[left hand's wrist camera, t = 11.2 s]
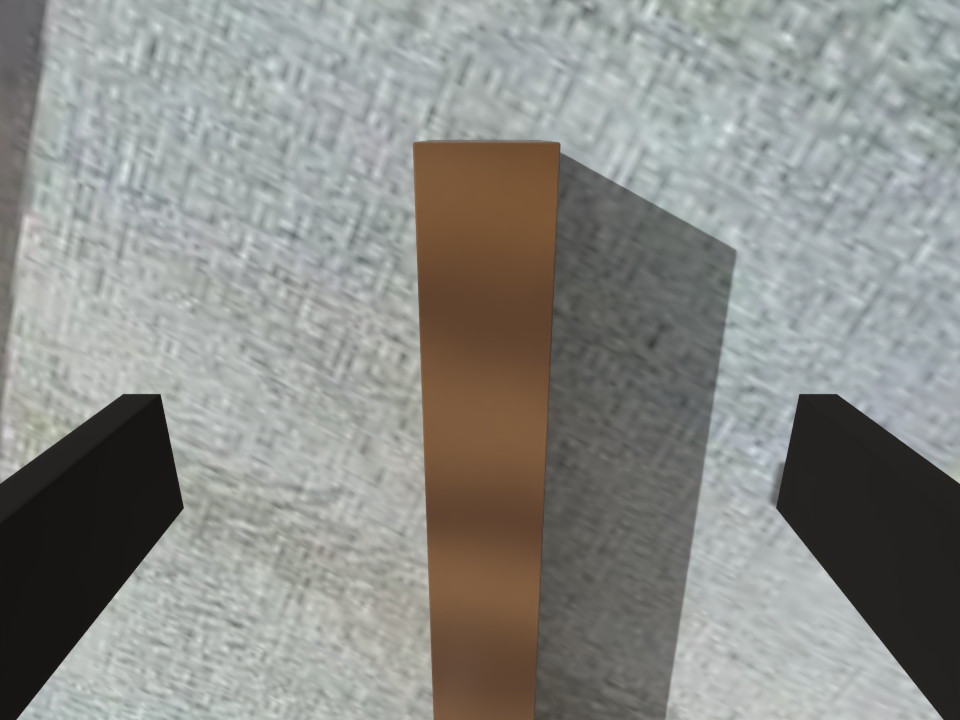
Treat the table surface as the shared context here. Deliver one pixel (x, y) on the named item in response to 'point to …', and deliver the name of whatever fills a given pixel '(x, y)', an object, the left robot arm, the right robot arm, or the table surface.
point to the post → (485, 411)
